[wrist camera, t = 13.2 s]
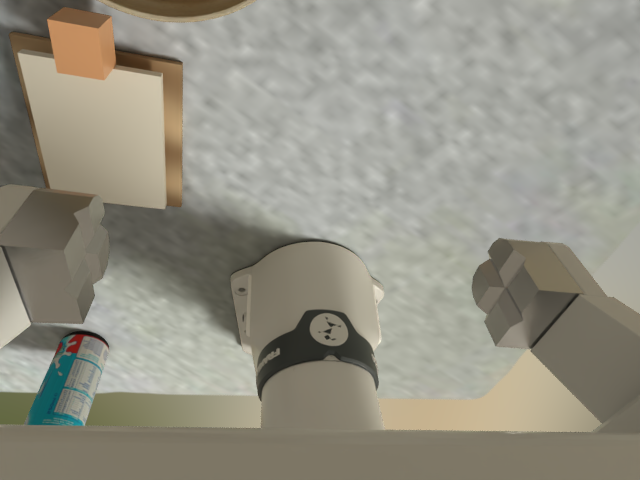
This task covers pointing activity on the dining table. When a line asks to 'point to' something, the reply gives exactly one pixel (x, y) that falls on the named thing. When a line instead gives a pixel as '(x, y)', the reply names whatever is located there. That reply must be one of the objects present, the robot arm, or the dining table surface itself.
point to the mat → (170, 97)
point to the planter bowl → (178, 8)
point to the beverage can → (70, 381)
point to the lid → (96, 114)
